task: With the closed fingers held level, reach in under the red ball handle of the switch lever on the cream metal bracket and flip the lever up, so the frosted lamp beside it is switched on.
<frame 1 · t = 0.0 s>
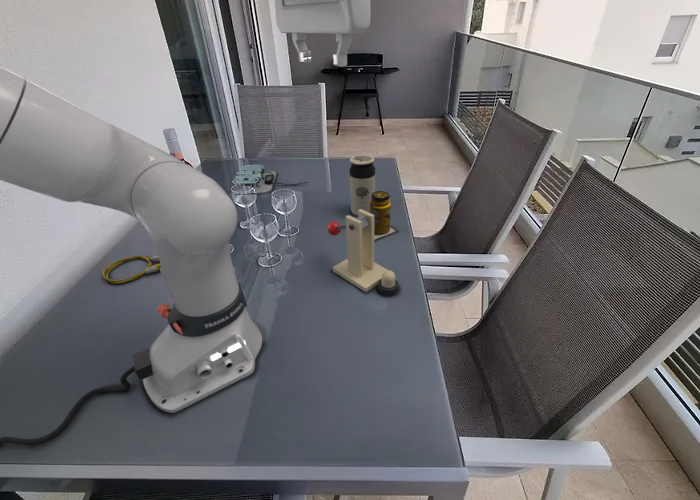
hand: (322, 64, 61), 48 cm above the table, tool pointing down, fingers open, 8 cm apart
switch lever: (346, 225, 85), point 12 cm above the table, hinge at -30.0°
condiment: (377, 231, 106), on the table
neon sign: (272, 182, 139), on the table
pilot lamp: (388, 289, 84), on the table
travel mug: (363, 211, 117), on the table
switch bracket: (361, 273, 89), on the table
extension cord: (136, 270, 94), on the table
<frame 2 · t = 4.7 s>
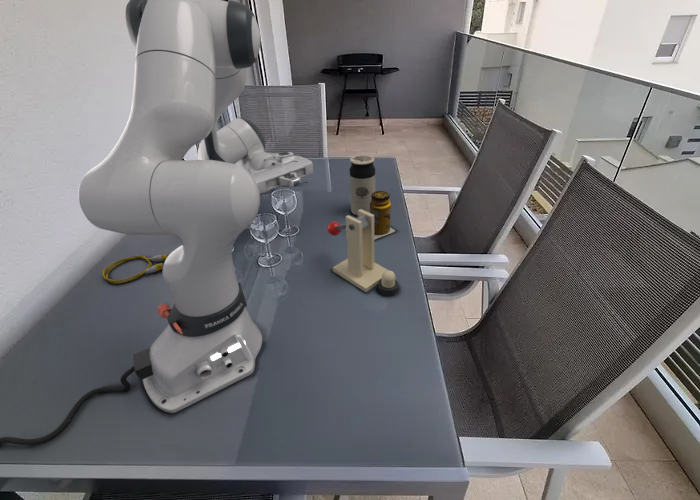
hand: (296, 182, 94), 18 cm above the table, tool horizontal, fingers closed
nothing on the table moved.
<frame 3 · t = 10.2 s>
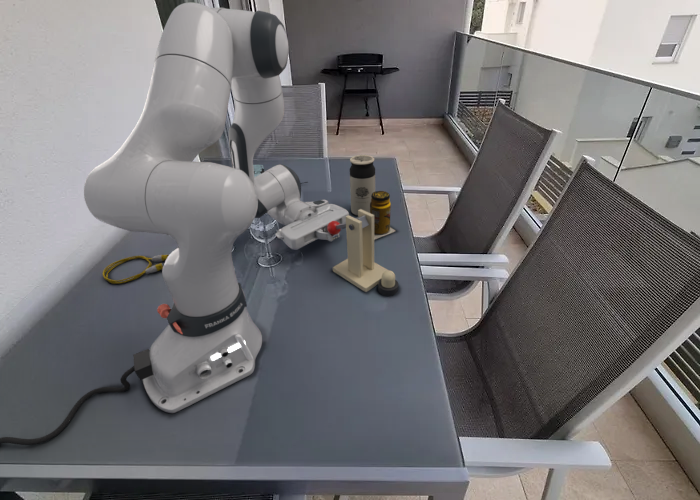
hand: (335, 237, 91), 7 cm above the table, tool horizontal, fingers closed, pressing on switch lever
switch lever: (345, 225, 85), point 12 cm above the table, hinge at -29.0°, touching gripper
everything else where it was.
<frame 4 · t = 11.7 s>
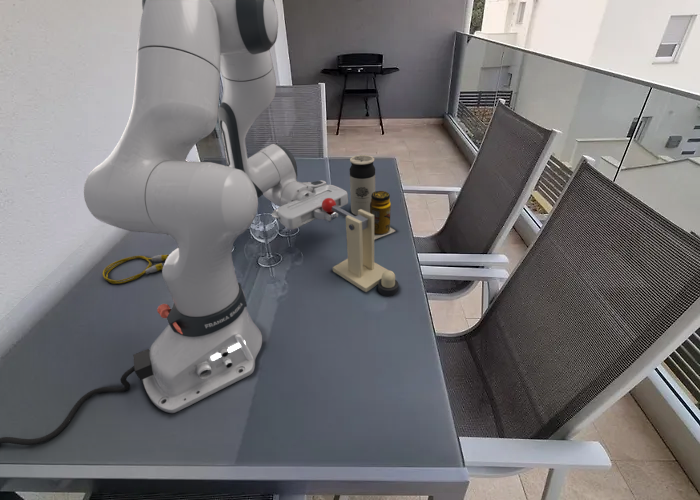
hand: (333, 216, 87), 13 cm above the table, tool horizontal, fingers closed, pressing on switch lever
switch lever: (343, 213, 84), point 15 cm above the table, hinge at 3.7°, touching gripper
everything else where it was.
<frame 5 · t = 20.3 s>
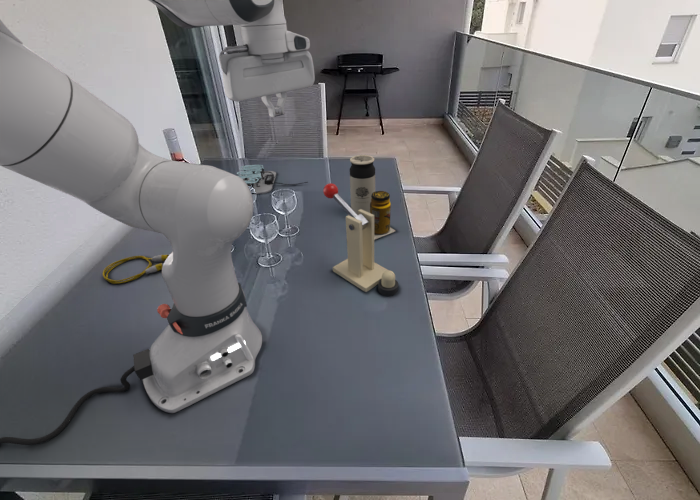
hand: (277, 115, 76), 37 cm above the table, tool pointing down, fingers closed
switch lever: (344, 205, 82), point 18 cm above the table, hinge at 26.6°
everything else where it was.
at the end: switch lever at +27° (first picture: -30°); the gripper is holding nothing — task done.
